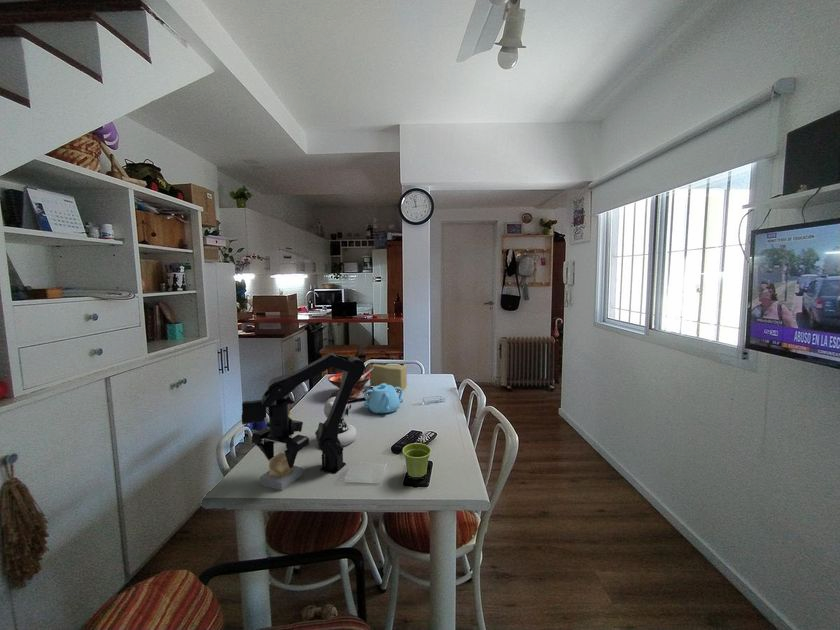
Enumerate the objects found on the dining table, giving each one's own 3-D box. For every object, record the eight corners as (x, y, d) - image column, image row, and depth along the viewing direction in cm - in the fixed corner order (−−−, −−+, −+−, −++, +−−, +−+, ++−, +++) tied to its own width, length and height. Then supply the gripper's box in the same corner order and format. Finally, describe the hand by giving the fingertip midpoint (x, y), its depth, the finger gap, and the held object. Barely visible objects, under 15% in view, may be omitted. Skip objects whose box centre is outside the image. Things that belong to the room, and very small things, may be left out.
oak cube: (293, 469, 107) (292, 455, 107) (281, 478, 102) (281, 462, 102) (281, 466, 109) (280, 452, 108) (269, 474, 104) (268, 459, 104)
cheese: (366, 390, 195) (366, 366, 193) (373, 385, 204) (373, 362, 203) (401, 394, 188) (401, 368, 187) (407, 388, 198) (407, 364, 196)
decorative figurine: (348, 450, 124) (347, 399, 122) (312, 448, 126) (310, 398, 124) (361, 433, 138) (360, 387, 137) (329, 431, 141) (327, 386, 139)
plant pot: (430, 466, 112) (430, 442, 112) (432, 483, 103) (432, 457, 102) (403, 467, 112) (402, 443, 111) (402, 484, 103) (402, 457, 102)
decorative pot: (382, 402, 175) (381, 377, 174) (406, 408, 166) (406, 382, 165) (360, 412, 162) (360, 385, 161) (385, 419, 153) (385, 391, 152)
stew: (372, 388, 200) (372, 362, 198) (382, 400, 177) (381, 371, 176) (325, 393, 190) (324, 366, 188) (329, 408, 167) (327, 377, 166)
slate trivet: (302, 474, 108) (302, 467, 108) (282, 490, 100) (281, 483, 100) (281, 469, 112) (281, 462, 111) (260, 484, 103) (259, 476, 103)
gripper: (319, 412, 108) (321, 457, 109) (276, 405, 115) (278, 448, 116) (294, 426, 98) (297, 476, 99) (249, 417, 105) (252, 464, 106)
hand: (281, 464), depth 105 cm, fingers open, 8 cm apart
